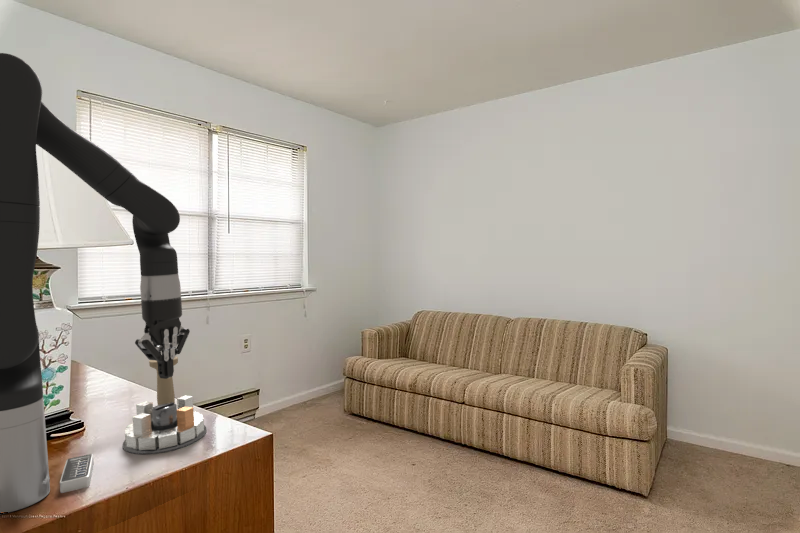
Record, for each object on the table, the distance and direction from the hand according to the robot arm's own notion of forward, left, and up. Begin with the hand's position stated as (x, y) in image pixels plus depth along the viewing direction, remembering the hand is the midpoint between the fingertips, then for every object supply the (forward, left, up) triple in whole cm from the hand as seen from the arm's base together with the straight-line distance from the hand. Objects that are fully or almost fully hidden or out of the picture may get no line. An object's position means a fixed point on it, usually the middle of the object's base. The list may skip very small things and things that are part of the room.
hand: (166, 377), depth 100 cm
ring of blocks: (+3, +7, -16) cm, 17 cm away
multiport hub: (-16, +5, -16) cm, 23 cm away
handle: (+11, +18, -16) cm, 26 cm away
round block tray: (+3, +7, -16) cm, 17 cm away
